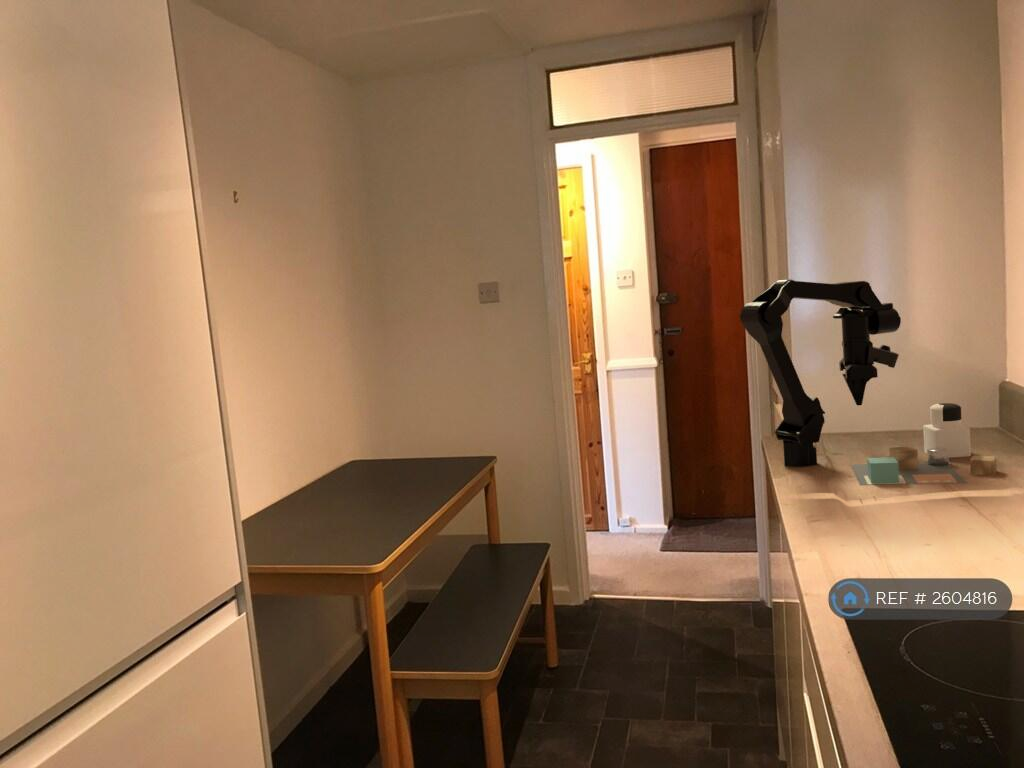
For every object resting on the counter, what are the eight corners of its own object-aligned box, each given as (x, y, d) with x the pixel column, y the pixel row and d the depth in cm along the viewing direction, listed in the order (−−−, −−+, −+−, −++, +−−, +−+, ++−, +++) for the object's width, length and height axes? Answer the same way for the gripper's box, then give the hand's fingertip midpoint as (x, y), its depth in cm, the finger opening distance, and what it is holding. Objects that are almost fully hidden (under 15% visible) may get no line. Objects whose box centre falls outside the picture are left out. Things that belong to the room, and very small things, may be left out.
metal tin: (929, 466, 174) (929, 452, 173) (925, 461, 178) (925, 448, 177) (950, 465, 173) (950, 451, 172) (946, 461, 176) (946, 447, 176)
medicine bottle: (957, 453, 186) (955, 400, 185) (971, 460, 179) (969, 405, 178) (923, 456, 187) (921, 403, 186) (936, 462, 180) (934, 408, 179)
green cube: (871, 483, 165) (870, 463, 164) (868, 477, 170) (867, 458, 169) (898, 482, 163) (898, 462, 163) (894, 476, 168) (894, 457, 168)
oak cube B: (970, 459, 164) (993, 460, 162) (973, 455, 168) (996, 456, 165) (970, 479, 165) (994, 481, 162) (973, 475, 168) (996, 476, 166)
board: (860, 490, 164) (859, 484, 164) (850, 469, 182) (850, 464, 181) (967, 488, 159) (967, 482, 159) (947, 466, 176) (947, 461, 176)
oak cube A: (898, 470, 173) (898, 451, 172) (890, 466, 177) (889, 447, 176) (918, 468, 173) (917, 449, 172) (909, 464, 177) (908, 446, 176)
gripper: (901, 337, 178) (904, 410, 179) (888, 331, 195) (891, 397, 197) (845, 341, 181) (848, 412, 183) (837, 334, 199) (840, 399, 200)
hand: (859, 405), depth 191 cm, fingers closed
